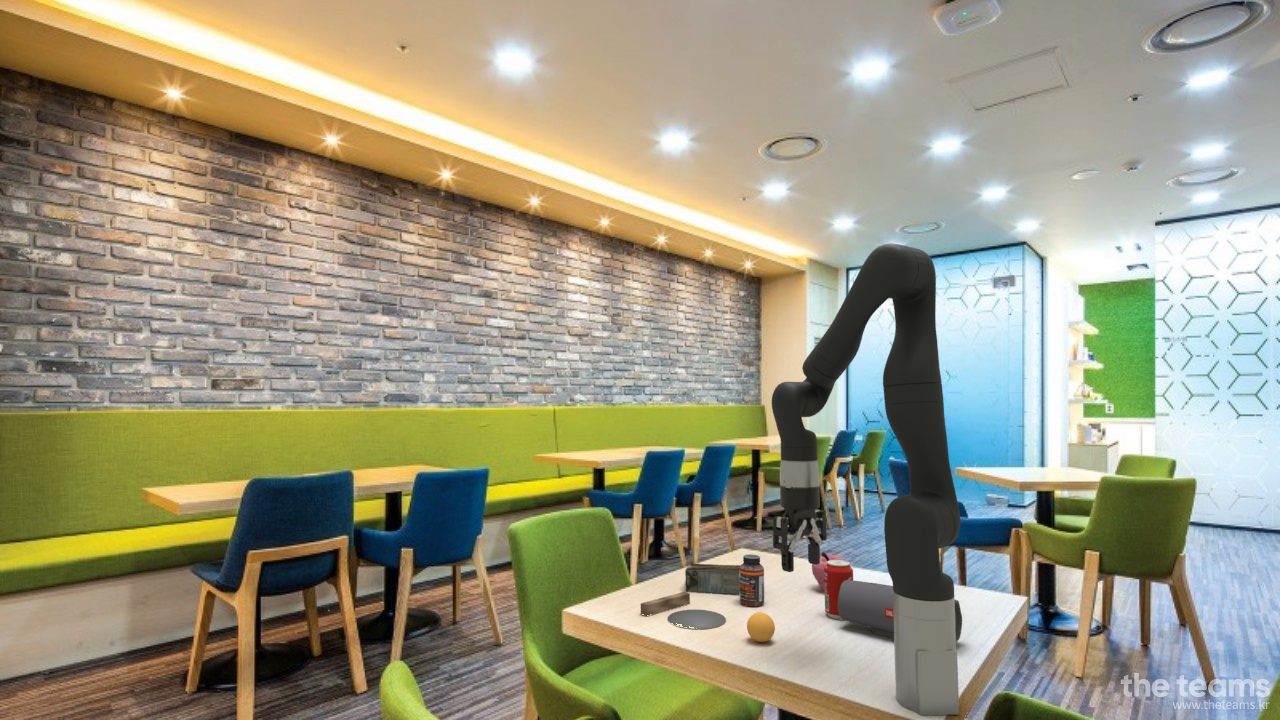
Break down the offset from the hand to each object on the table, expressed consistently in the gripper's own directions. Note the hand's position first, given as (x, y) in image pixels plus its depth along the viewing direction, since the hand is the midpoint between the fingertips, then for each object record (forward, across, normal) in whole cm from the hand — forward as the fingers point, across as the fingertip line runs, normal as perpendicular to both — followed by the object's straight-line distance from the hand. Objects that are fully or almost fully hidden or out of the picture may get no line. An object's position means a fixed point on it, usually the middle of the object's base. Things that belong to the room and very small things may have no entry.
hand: (801, 567), depth 128 cm
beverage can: (+16, -25, -8) cm, 31 cm away
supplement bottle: (+16, -17, -27) cm, 36 cm away
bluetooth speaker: (+17, -23, +7) cm, 29 cm away
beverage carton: (+17, -21, -39) cm, 47 cm away
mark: (+16, +1, -28) cm, 32 cm away
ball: (+14, +1, -10) cm, 17 cm away
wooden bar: (+16, +1, -38) cm, 41 cm away
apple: (+16, -41, -20) cm, 48 cm away
